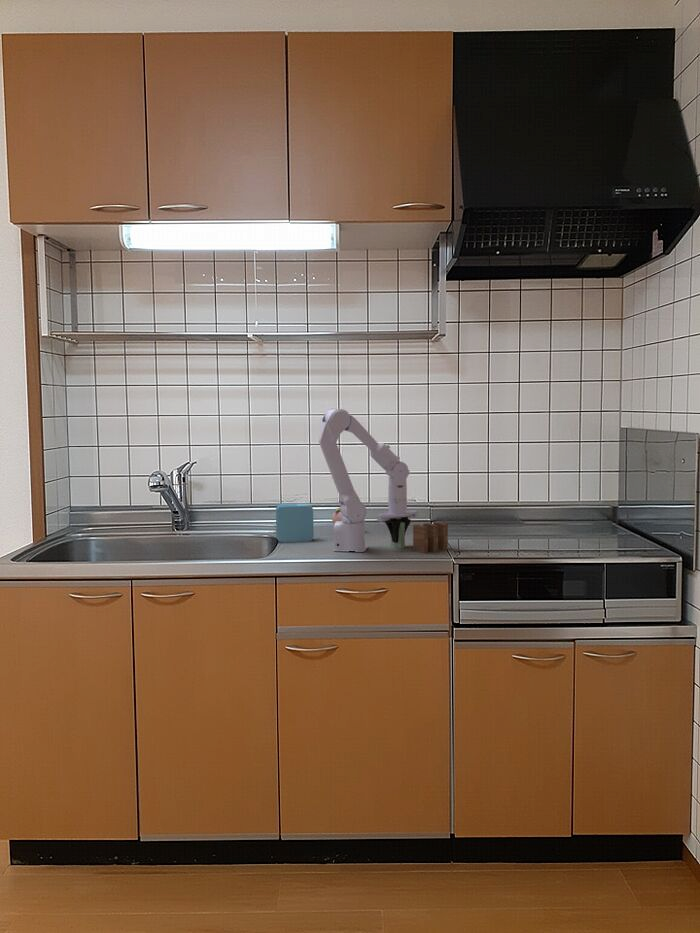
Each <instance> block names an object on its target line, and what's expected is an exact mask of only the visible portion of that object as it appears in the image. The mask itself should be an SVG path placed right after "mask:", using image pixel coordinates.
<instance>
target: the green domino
mask: <svg viewBox="0 0 700 933" xmlns="http://www.w3.org/2000/svg"><path fill="white" fill-rule="evenodd" d="M405 538H406V533H405V523H404V522H401V523H400V526H399V533H398V543H395V542H392V538H391V537H390V546H391V547H393V546H394V547H393V548H397V547H398V548H397V549H405V547H406V545H405Z"/></svg>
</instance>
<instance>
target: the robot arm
mask: <svg viewBox="0 0 700 933" xmlns="http://www.w3.org/2000/svg"><path fill="white" fill-rule="evenodd" d="M320 421H321V423H320V430H319V434H318V435H319V436H318V443H319V446H320V448H321V451H322V454H323V457H324V459H325V462H326V465H327V467H328V469H329V472H330V474H331V478H332V480H333V482H334V486H335V487H336V490H337V493H338V499H339V508H340V511H341V513H342V515H343V518H342V520H341V521H336V522H335V525H334V524H333V525H334V526H333V551H334V552H349V551H355V552H356V553H364V552H365V551H366V550H367V549H368V548H369V546H368V545H366V523H365V522H366V521H365V520H366V519H365V518H366V515H367V507H366V505H365V504H364V503H363V502H362V501H361V500H360V498H359V496H358V494H357V491H356V490H355V489H354V486H353V484H352V480H351V478H350V475H349V472H348V470H347V468H346V464H345V461H344V460H343V457H342V453H341V452H340V449H339V446H338V443H337V441H338V440H339V438H340V436H341V435H342V433H343V432H344V431H345V432H349V433H352V434H353V435H354V436H355V437H356V438H357V439H358V440H359V441H360V442H361V443H362V444H363V445H364V446H365V447H366V448H367V449H369V452H370V453H369V455H370V457H371V458H372V459H373V460H374V461H375V462H376V463H377V464H378V465H379V466H380V467H381V468H382V469H383V470H384V471H385V474H386V476H388V484H387V485H388V493H387V494H388V512H383V513H380V514H376V520H377V521H378V522H384V523H385V525H386V527H387V530H388V531H389V533H390V539H391V538H392V542H395V543H398V533H399V526H400V523H401V522H404V523H405V534H406V532H407V530H408V527H409V526H410V524H411V522H412V520H411V519H410V518H418V516H419V514H418V510H415V509H414V510H408V509H407V508H408V507H407V506H408V505H407V504H408V502H407V501H408V500H407V498H408V496H407V494H408V491H407V490H408V488H407V487H408V486H407V479H408V476H409V475H410V470H409V468H408V465H407V464H406V463H405V462H404V461H400V459H401V457H400V456H399V455H396V454H395V453H394V452H393V451H392V450H391V446H390V445H389V444H388V443H386V444H385V443H384V442H377V440H376V439H375V438H374V437H373V436H372V435H371V433H369V431H368V430H367V429H366V428H365V427H364V426H363V425H362V424H361V422H359V420H357V419H356V418H355V417H354V416H353V415H352V414H351V415H350V414H349V412H348V411H347V410H346V409H343V408H334V407H333V408H330V409H328V410H327V411H326V412H325V413H324V415H323V417H322V418H321V420H320Z"/></svg>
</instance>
